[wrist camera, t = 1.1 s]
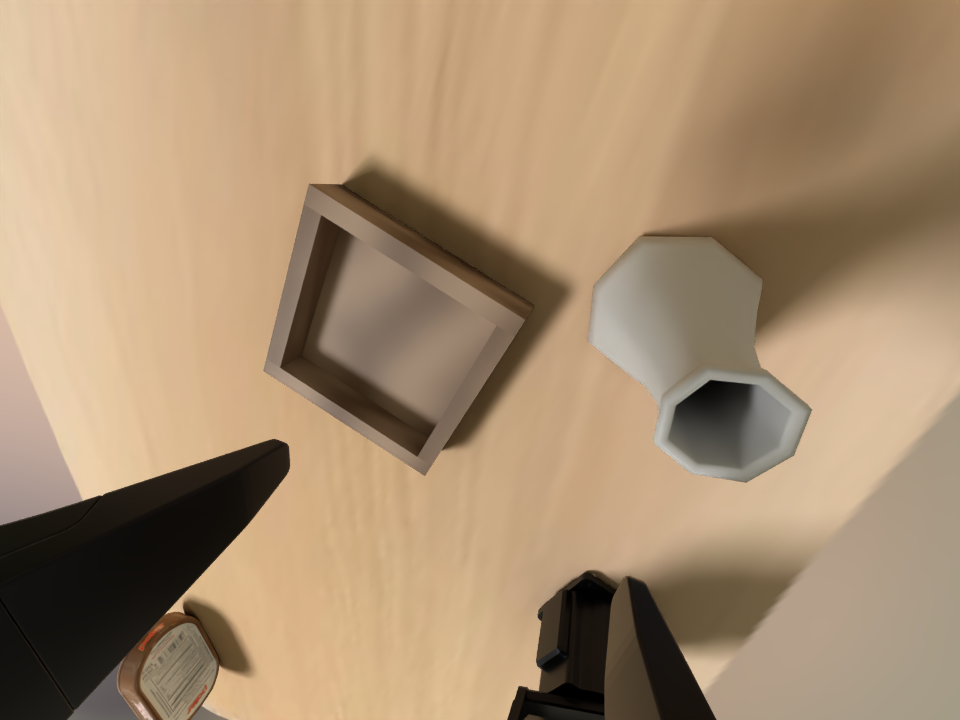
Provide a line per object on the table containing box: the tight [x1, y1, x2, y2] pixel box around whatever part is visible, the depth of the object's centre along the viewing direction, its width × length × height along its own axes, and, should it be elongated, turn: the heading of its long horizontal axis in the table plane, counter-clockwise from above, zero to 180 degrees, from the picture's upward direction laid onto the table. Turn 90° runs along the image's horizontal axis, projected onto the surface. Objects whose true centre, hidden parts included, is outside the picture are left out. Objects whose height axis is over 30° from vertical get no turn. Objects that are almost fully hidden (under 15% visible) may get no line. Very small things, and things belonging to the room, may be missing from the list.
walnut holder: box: [264, 184, 534, 476], centre depth 22 cm, size 12×12×2 cm
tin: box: [117, 612, 219, 720], centre depth 47 cm, size 15×3×8 cm, turn 3°
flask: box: [588, 236, 812, 482], centre depth 14 cm, size 7×7×10 cm
